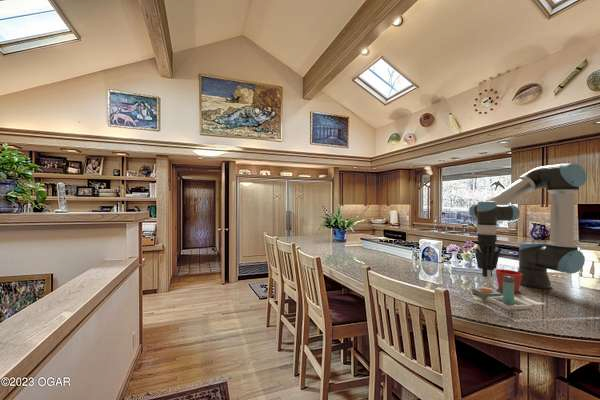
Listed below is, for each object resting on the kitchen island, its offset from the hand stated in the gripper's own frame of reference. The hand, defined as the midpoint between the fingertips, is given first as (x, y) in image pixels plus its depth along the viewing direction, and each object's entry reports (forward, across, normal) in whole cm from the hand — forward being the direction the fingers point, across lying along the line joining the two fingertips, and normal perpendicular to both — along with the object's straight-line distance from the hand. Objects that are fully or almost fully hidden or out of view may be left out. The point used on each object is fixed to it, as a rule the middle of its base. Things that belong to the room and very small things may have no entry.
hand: (487, 283), depth 128 cm
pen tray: (+7, 0, +11) cm, 13 cm away
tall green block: (+6, 0, +11) cm, 12 cm away
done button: (+6, +1, 0) cm, 6 cm away
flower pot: (+7, -18, -8) cm, 21 cm away
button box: (+7, +1, 0) cm, 7 cm away
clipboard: (+7, -12, +6) cm, 15 cm away
